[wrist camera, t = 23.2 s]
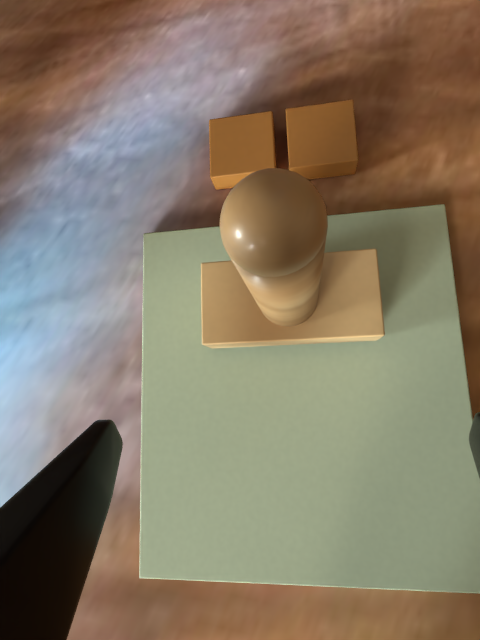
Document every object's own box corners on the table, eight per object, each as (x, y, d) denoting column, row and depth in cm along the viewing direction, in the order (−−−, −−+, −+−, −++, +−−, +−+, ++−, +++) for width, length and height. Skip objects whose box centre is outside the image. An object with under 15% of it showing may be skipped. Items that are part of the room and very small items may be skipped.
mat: (488, 586, 20) (496, 595, 19) (144, 572, 22) (138, 578, 22) (440, 209, 23) (445, 203, 22) (148, 237, 26) (143, 233, 25)
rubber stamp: (367, 265, 22) (454, 93, 9) (374, 342, 22) (480, 273, 9) (213, 277, 24) (98, 142, 11) (214, 350, 23) (93, 300, 10)
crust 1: (277, 183, 25) (275, 169, 23) (215, 190, 26) (209, 177, 24) (274, 126, 26) (272, 110, 24) (214, 134, 26) (208, 119, 25)
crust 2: (355, 174, 24) (358, 160, 23) (290, 182, 25) (289, 168, 23) (350, 116, 25) (353, 98, 23) (286, 125, 26) (285, 108, 24)
